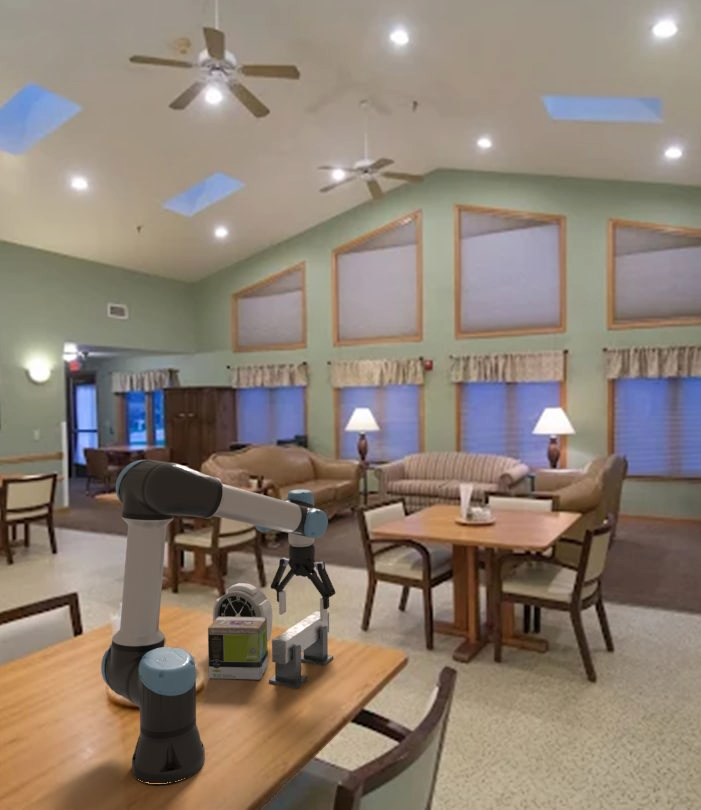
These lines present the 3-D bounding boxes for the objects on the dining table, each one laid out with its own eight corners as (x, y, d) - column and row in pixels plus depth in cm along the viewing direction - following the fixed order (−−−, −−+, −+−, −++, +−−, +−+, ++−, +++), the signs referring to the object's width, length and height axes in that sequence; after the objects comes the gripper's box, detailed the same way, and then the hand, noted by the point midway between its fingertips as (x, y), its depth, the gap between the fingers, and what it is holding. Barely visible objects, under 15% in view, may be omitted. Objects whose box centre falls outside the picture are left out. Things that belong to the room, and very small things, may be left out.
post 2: (324, 665, 185) (324, 632, 185) (297, 660, 189) (297, 627, 189) (333, 658, 190) (333, 625, 190) (307, 653, 194) (307, 620, 194)
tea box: (268, 666, 185) (267, 616, 185) (260, 681, 175) (259, 628, 175) (218, 664, 187) (218, 614, 187) (207, 679, 177) (207, 627, 177)
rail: (285, 664, 170) (284, 642, 170) (272, 662, 171) (272, 639, 171) (329, 631, 193) (328, 612, 193) (317, 629, 195) (317, 610, 195)
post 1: (296, 688, 171) (296, 652, 170) (268, 682, 174) (268, 646, 174) (307, 679, 176) (307, 644, 176) (280, 673, 180) (279, 639, 180)
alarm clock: (210, 650, 197) (210, 586, 197) (223, 640, 205) (223, 578, 205) (263, 656, 192) (262, 590, 192) (274, 646, 200) (274, 582, 200)
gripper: (346, 544, 180) (347, 618, 181) (271, 537, 191) (273, 606, 191) (334, 550, 173) (335, 627, 174) (258, 542, 184) (259, 614, 184)
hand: (302, 616), depth 182 cm, fingers open, 13 cm apart
